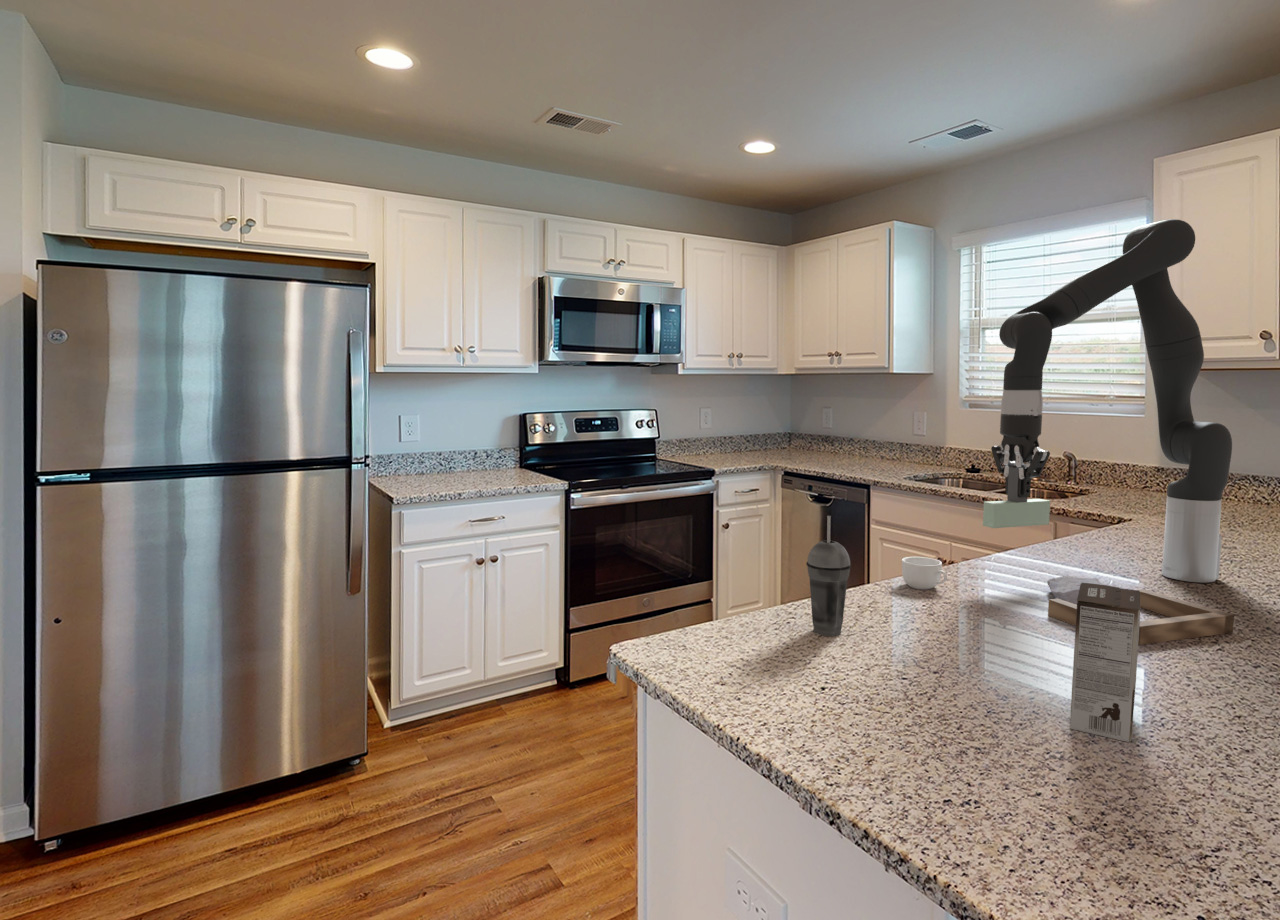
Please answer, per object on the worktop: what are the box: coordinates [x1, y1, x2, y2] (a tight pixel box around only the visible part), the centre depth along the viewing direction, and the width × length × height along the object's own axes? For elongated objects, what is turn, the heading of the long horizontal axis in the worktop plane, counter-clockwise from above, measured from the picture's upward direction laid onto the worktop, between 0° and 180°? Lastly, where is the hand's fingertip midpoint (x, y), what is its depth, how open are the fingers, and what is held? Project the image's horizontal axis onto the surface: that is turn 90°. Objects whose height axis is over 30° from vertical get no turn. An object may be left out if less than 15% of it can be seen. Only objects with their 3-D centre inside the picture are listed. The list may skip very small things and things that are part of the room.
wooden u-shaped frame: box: [1047, 588, 1235, 646], centre depth 125 cm, size 22×16×3 cm
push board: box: [982, 466, 1051, 529], centre depth 150 cm, size 14×3×12 cm, turn 106°
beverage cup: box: [806, 515, 852, 637], centre depth 122 cm, size 7×7×20 cm
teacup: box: [901, 556, 948, 590], centre depth 149 cm, size 10×8×5 cm
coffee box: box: [1069, 583, 1141, 743], centre depth 89 cm, size 9×6×16 cm
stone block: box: [1046, 575, 1111, 605], centre depth 140 cm, size 12×5×10 cm
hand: (1017, 495), depth 150 cm, fingers closed on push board, 2 cm apart
